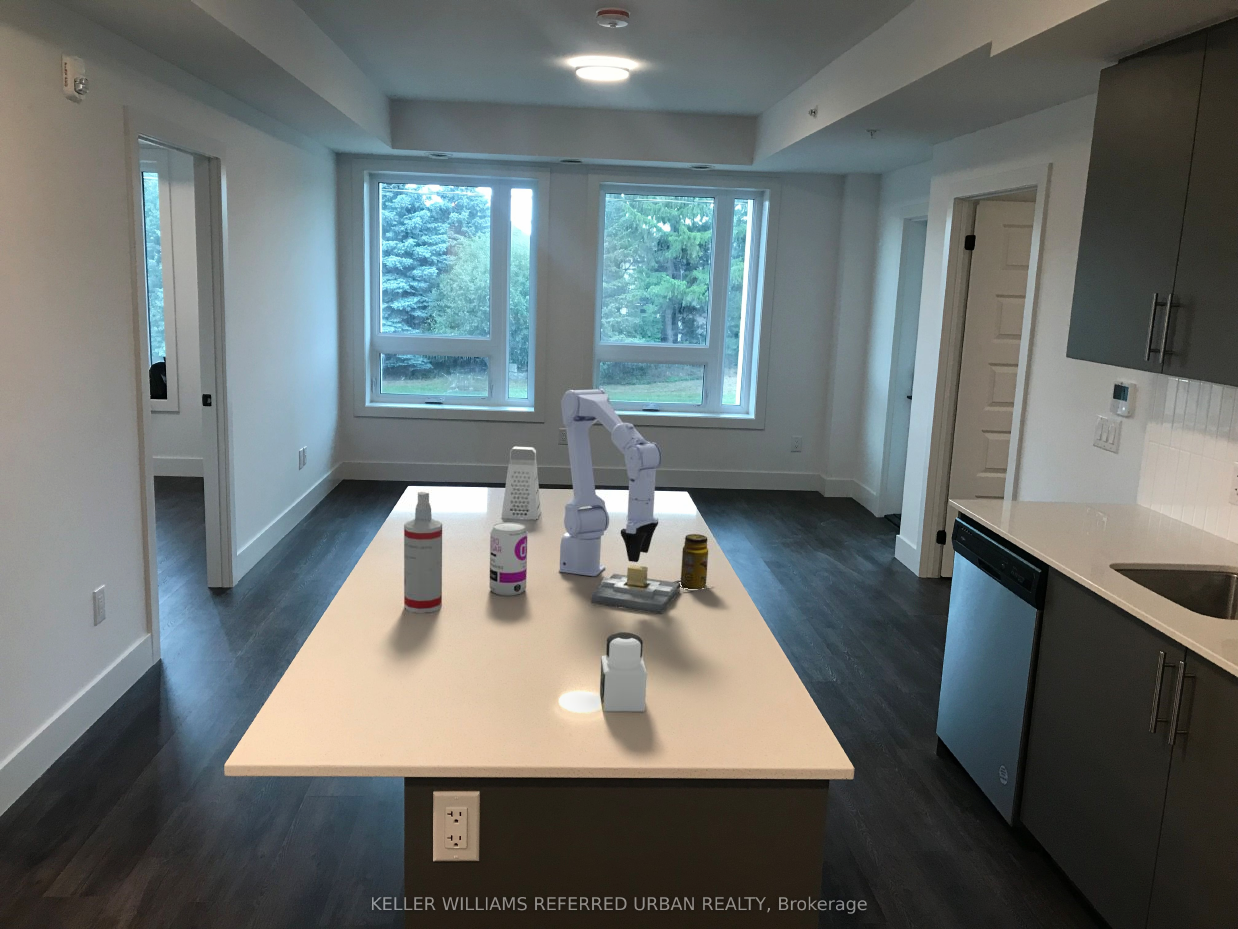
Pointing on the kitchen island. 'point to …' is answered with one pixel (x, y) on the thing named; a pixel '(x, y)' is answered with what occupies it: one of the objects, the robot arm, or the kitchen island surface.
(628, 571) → the wooden rectangular block
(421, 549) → the spray bottle
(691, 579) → the condiment
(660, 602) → the grey square plate
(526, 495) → the grater
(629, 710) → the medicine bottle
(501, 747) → the kitchen island surface
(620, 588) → the bracket
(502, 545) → the supplement can
